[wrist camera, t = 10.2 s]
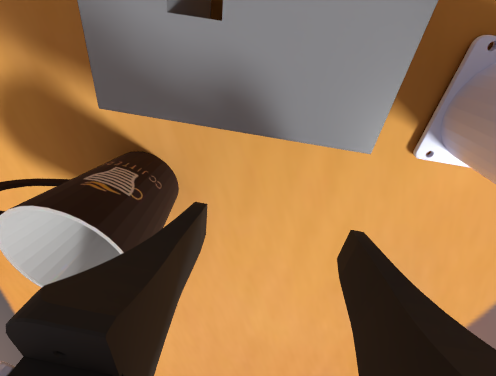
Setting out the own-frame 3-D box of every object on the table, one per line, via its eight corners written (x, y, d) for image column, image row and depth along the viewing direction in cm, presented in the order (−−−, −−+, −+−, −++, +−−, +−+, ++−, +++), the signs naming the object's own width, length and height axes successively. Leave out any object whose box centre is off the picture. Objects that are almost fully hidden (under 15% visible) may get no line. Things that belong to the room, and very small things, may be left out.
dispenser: (393, -39, 13) (483, -103, 7) (341, 116, 18) (370, 154, 12) (147, -73, 14) (45, -160, 8) (158, 86, 18) (98, 108, 12)
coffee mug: (208, 187, 23) (163, 275, 14) (157, 230, 26) (97, 319, 18) (100, 90, 19) (-46, 129, 11) (59, 155, 23) (-74, 223, 14)
